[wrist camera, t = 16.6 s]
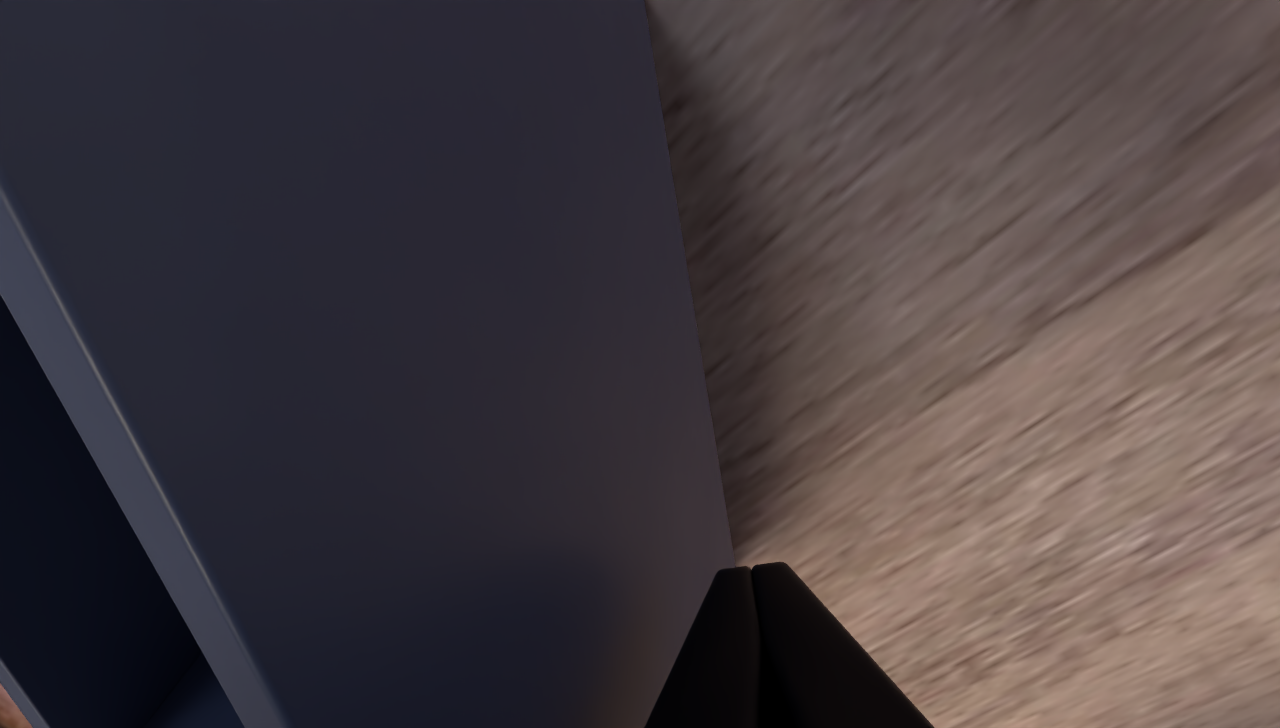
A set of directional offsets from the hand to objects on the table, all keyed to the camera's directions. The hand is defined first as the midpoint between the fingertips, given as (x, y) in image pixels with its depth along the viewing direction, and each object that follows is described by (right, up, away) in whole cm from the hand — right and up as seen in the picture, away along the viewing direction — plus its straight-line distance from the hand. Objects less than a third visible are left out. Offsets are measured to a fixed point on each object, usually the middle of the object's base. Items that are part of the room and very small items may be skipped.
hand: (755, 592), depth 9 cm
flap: (-2, 0, 0) cm, 2 cm away
